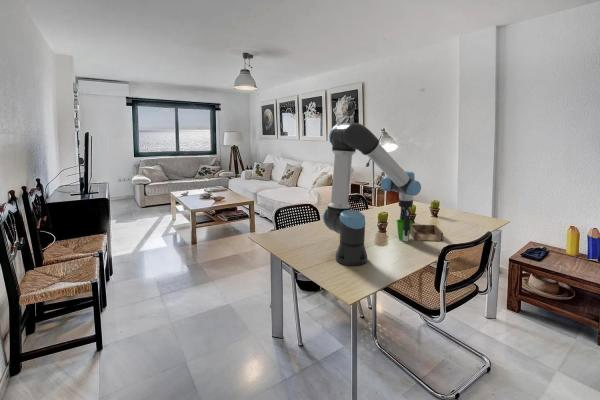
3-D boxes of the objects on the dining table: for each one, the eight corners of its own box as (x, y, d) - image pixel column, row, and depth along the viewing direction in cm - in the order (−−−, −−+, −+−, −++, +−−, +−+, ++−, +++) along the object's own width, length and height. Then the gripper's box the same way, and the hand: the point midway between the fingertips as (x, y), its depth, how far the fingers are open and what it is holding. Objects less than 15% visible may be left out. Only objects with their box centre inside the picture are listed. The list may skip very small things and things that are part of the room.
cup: (413, 238, 187) (414, 220, 185) (409, 243, 180) (410, 224, 177) (397, 236, 192) (398, 218, 189) (393, 240, 184) (394, 221, 182)
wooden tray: (414, 240, 184) (415, 232, 183) (408, 232, 199) (409, 224, 198) (442, 241, 182) (443, 232, 181) (434, 232, 198) (435, 224, 197)
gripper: (417, 203, 170) (414, 244, 174) (408, 195, 191) (406, 232, 196) (402, 203, 171) (400, 244, 175) (395, 195, 192) (393, 232, 196)
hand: (403, 238), depth 185 cm, fingers closed on cup, 9 cm apart
